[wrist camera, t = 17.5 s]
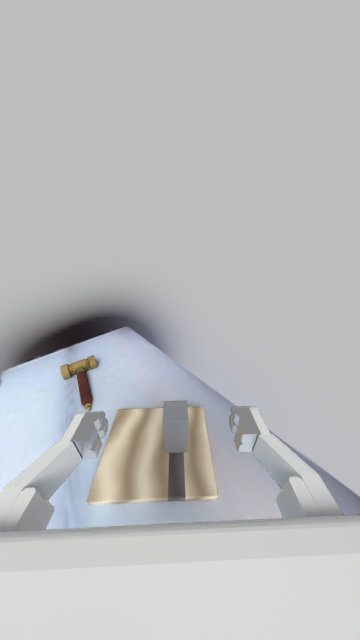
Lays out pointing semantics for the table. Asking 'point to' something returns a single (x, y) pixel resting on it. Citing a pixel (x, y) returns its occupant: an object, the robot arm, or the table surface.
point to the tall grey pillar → (175, 426)
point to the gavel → (81, 378)
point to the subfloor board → (153, 461)
